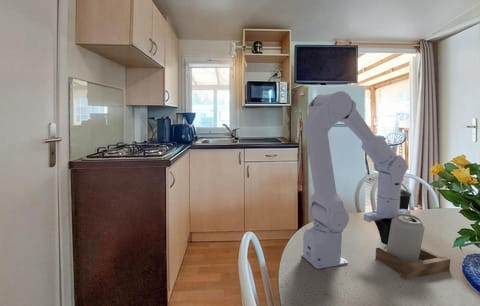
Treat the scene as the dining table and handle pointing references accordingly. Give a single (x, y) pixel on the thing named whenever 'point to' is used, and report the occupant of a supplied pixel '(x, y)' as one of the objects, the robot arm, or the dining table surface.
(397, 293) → the dining table surface
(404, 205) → the drinking cup
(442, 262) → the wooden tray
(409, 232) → the can
